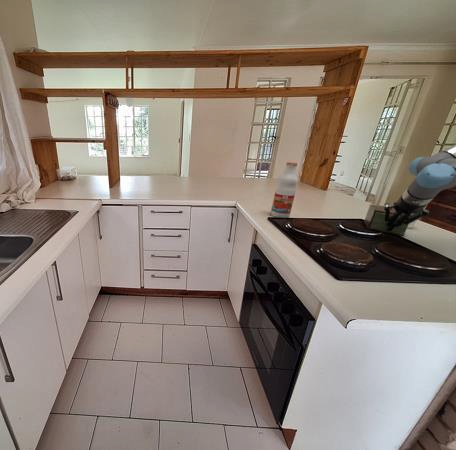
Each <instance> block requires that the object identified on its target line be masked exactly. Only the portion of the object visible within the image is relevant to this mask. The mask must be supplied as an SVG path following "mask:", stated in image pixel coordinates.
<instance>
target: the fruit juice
mask: <svg viewBox="0 0 456 450" xmlns="http://www.w3.org/2000/svg"><path fill="white" fill-rule="evenodd" d="M297 167H298V163H297V162H287V161H286V162H285V168H284V170H283V171H282V173H280V176H279V177H278V180H277V186H276V187H275V191H274V194H273V199H272V205H271V209H270V215H271V216H273V217H277V218H280V219H281V218H282V219H287V218H289V217H290V215H291V213H292V208H293V204H294V200H295V197H296V191H297V190H296V187H297V185H298V183H299V178H298V174H297Z"/></svg>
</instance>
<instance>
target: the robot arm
mask: <svg viewBox="0 0 456 450" xmlns="http://www.w3.org/2000/svg"><path fill="white" fill-rule="evenodd" d="M408 171H409V173H410V174H411V175H412V176H415V178H414V179H413V180H412V182H411V183H410V184H409V186H408V187H407V188H406V189H405V190H404V192H403V193H402V194H401V196H400V197H399V198H398V199H397V200H396V201H395V202H393V204H390V203H388V202H387V203H384V206H385V207H384V210H385V211H386V214H385V221H387V230H386V231H392V230H393V228H394V227H398V226H401V225H402V223H404V224H406V225H407V224H410V223H411V222H413V221H415V220H417V221H418V220H419V219H421V218H422V217H427V216H429V213H430V209H429V208H425V207H426V206H427V205H428V204H429V203H431V201H432V200H433V199H435V198H436V196H437V195H438V194H440V193H441V192H442V191H444V190H448V189H452V188H455V187H456V143H455V144H453V145H451V146H449V147H447V148H445V149H443V150H441V151H439V152H437V153H435V154H433V155H430V156H429V155H428V156H427V155H426V156H420V157H419V156H418V157H416V158H415V159H414V160H412V161H411V162H410V164H409V165H408ZM392 208H394V209H395V210H396V211H395V212H394V213H393V215H392V216H390V217H389V214H390V210H391V209H392ZM402 213H403V214H402ZM413 213H414V214H413ZM401 214H402V215H401ZM411 214H412V215H411ZM400 215H401V216H400ZM399 216H400V217H399ZM398 217H399V219H397V218H398Z"/></svg>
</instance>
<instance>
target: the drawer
mask: <svg viewBox="0 0 456 450" xmlns="http://www.w3.org/2000/svg"><path fill="white" fill-rule="evenodd" d="M385 214H386V213H380V212H376V213H375V216H374V218H373V221H372V223H371V226H370V228H371V229H376V230H382V231H386V230H387V221H385ZM392 215H393V214H389V217H390V216H392ZM399 217H400V216H399ZM399 217H398V218H397V219H399ZM406 227H407V225H406V224H404V223H402V225H401V226H398V227H394V228H393V230H392V231H387V232H393V233H398V234H404V231H405V229H406ZM406 230H407V229H406ZM405 232H406V231H405ZM404 235H405V234H404Z"/></svg>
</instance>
